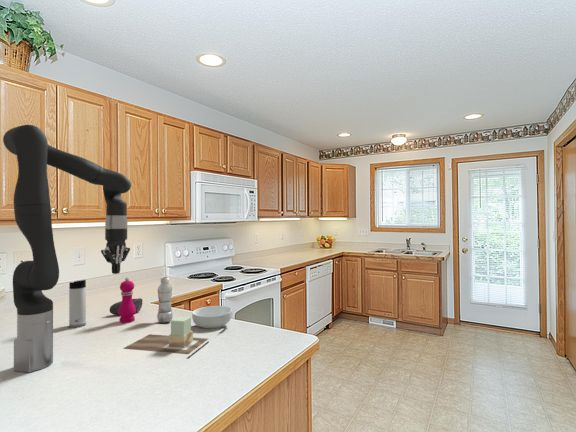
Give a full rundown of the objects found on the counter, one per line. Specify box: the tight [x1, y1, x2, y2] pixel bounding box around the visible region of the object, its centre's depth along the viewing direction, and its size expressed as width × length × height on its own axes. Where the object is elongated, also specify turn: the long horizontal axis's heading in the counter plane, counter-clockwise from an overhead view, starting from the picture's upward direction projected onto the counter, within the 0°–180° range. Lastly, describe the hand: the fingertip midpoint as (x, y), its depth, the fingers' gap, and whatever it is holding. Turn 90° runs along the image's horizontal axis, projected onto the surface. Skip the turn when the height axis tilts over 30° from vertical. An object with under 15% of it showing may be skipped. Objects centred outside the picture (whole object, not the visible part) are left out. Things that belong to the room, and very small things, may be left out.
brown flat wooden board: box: [122, 333, 210, 360], centre depth 123 cm, size 15×25×2 cm, turn 77°
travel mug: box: [68, 279, 87, 329], centre depth 150 cm, size 6×7×20 cm
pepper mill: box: [118, 277, 137, 324], centre depth 156 cm, size 7×7×20 cm
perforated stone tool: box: [109, 297, 143, 316], centre depth 169 cm, size 15×5×7 cm, turn 117°
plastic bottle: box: [156, 276, 173, 324], centre depth 154 cm, size 6×7×20 cm
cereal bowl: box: [191, 305, 233, 329], centre depth 147 cm, size 17×17×7 cm
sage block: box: [170, 316, 192, 336], centre depth 122 cm, size 5×5×5 cm
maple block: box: [168, 330, 194, 348], centre depth 122 cm, size 6×6×4 cm
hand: (115, 273), depth 129 cm, fingers closed
